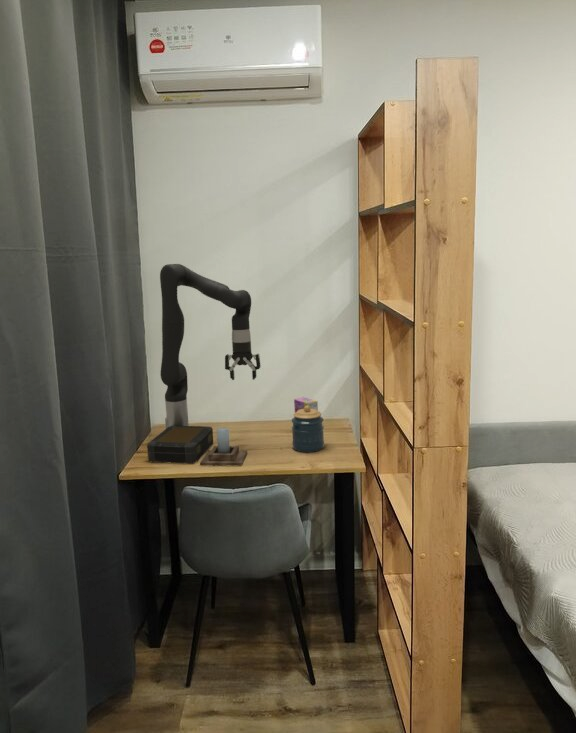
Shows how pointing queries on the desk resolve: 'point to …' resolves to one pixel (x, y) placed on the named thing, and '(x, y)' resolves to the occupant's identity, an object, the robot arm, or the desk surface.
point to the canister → (307, 430)
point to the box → (305, 403)
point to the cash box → (180, 444)
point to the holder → (224, 457)
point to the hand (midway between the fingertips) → (243, 379)
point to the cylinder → (223, 440)
